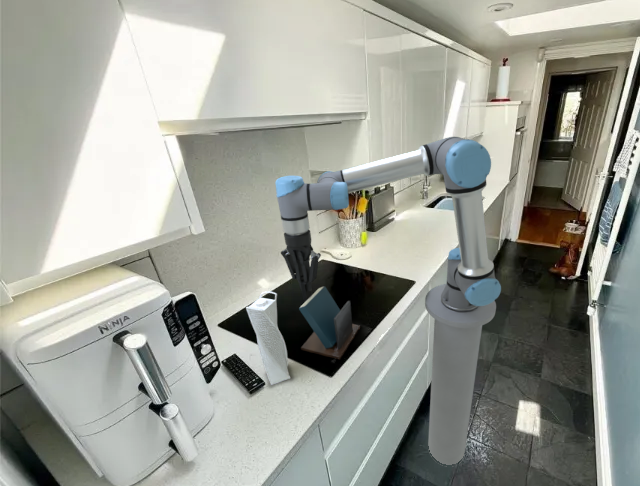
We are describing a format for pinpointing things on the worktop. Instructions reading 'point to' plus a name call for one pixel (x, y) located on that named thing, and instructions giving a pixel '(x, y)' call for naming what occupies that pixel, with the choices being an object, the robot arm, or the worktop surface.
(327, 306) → the book
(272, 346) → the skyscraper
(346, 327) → the book rest
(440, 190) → the worktop surface
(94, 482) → the worktop surface
